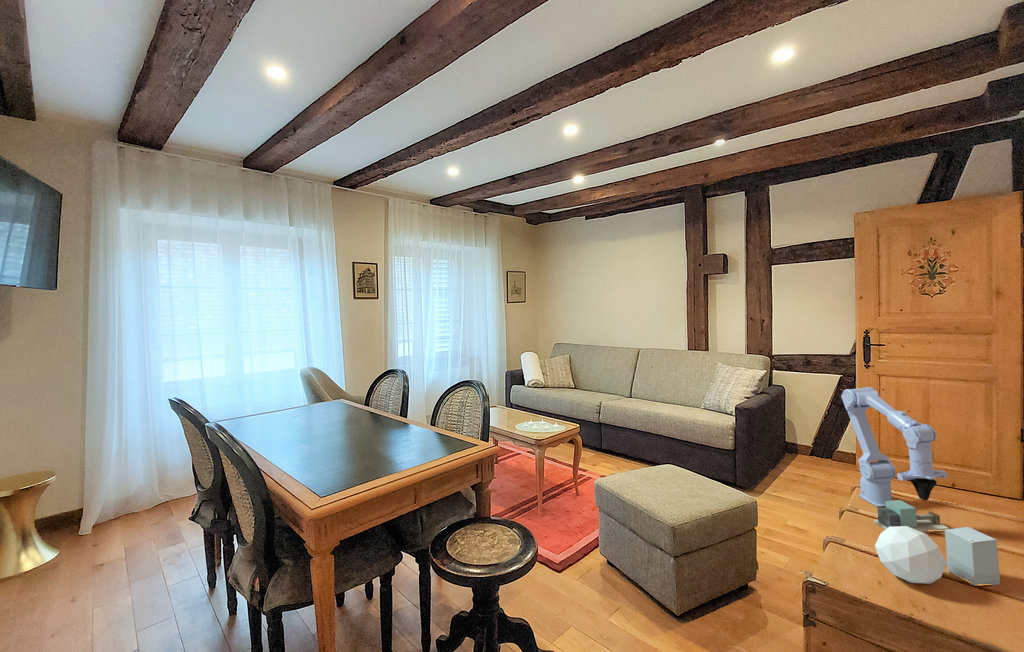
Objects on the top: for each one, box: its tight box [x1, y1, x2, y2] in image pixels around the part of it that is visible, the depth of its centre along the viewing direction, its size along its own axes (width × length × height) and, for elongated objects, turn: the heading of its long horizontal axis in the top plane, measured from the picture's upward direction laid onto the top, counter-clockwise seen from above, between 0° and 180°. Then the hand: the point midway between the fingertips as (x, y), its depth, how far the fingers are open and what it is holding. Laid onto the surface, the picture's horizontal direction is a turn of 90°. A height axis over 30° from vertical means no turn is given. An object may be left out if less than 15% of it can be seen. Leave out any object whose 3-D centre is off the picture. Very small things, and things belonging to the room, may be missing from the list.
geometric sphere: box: [874, 526, 948, 585], centre depth 120 cm, size 14×15×15 cm
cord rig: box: [873, 507, 950, 533], centre depth 144 cm, size 8×18×6 cm, turn 86°
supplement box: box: [944, 526, 1001, 587], centre depth 117 cm, size 7×7×13 cm
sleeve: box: [885, 499, 917, 527], centre depth 144 cm, size 6×5×6 cm
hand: (923, 499), depth 144 cm, fingers closed
